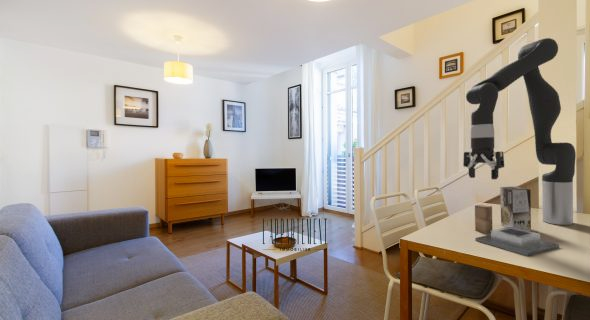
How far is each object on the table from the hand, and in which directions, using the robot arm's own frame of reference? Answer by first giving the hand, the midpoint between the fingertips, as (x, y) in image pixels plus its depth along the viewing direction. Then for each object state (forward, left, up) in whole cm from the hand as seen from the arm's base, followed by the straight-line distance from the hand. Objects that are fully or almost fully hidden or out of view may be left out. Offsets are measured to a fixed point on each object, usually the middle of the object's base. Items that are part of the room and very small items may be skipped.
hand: (482, 178), depth 107 cm
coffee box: (-14, +3, -21) cm, 25 cm away
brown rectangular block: (0, 0, -21) cm, 21 cm away
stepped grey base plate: (+5, +14, -21) cm, 25 cm away
